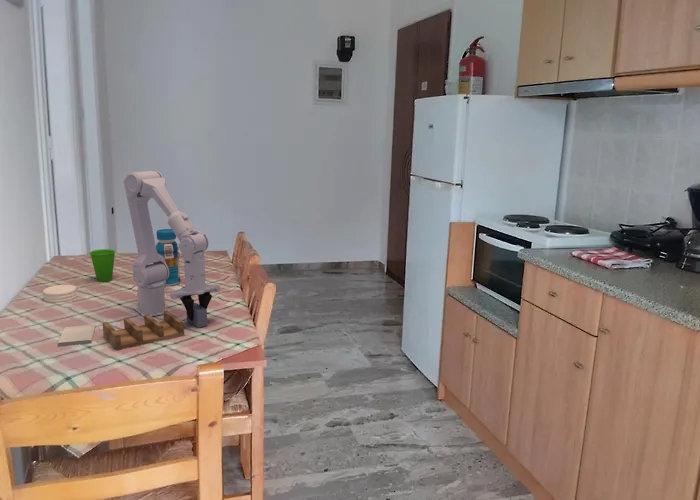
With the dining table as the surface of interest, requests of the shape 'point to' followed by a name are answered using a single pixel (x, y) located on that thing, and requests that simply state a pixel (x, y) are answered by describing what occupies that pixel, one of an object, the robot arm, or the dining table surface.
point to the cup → (103, 264)
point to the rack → (143, 331)
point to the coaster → (59, 293)
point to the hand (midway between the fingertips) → (196, 318)
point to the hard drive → (77, 335)
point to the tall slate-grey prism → (198, 316)
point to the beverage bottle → (169, 254)
